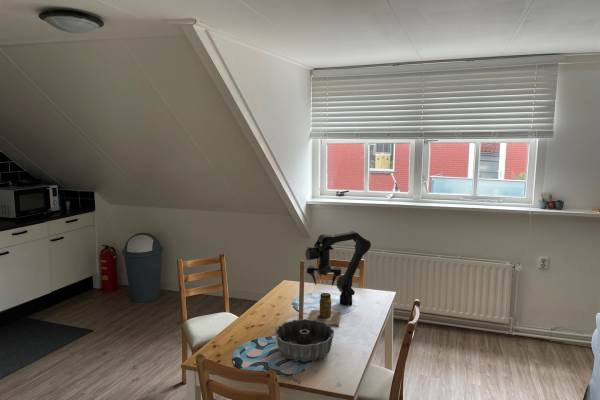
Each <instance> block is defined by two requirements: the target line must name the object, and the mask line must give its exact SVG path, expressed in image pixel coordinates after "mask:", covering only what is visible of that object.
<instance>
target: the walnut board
mask: <svg viewBox="0 0 600 400" xmlns="http://www.w3.org/2000/svg"><path fill="white" fill-rule="evenodd" d="M319 313H320V309H311V310H310V313H309V316H308V318H307V319H308V320H316V321H320V322H324V323H326V324H327V325H329V326H332V328H333V327H335V328H339V325H340V321H341V316H342V312H341V311H333V310H331V314H333V315H332V317H331V320H330V321H327V320H320V319H316V318H317V316H318V315H319Z"/></svg>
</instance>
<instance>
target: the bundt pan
mask: <svg viewBox="0 0 600 400" xmlns="http://www.w3.org/2000/svg"><path fill="white" fill-rule="evenodd" d="M274 335H275V339H276V343H277V347H278V351H279V353H280V354H281V355H283V356H284V357H285V358H287V359H289V360H293V361H295V362H298V361H300V362H308V361H311V362H315V361H317V360H320V359H322V358H324V357H325V355H326V356H327V355H328V354H329V353H330V351H331V348H332V343H333V338H334V335H335V330H334V328H333V326H329V325H327V324H326V323H324V322H320V321H316V320H308V318H307V319H306V318H304V319H303V318H301V319H292V320H291V321H285V322H283V323H281V325H279V326H278V325H277V327H276V329H275V330H274Z"/></svg>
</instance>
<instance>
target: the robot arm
mask: <svg viewBox="0 0 600 400" xmlns="http://www.w3.org/2000/svg"><path fill="white" fill-rule="evenodd" d="M351 240H352V241H353V242H354V243H355V246H354V253H353V256H352V258H351V260H350V262H349V264H348V266H347V269H346V270H345V273H344V274H343V275H342V273H343V271H342V270H343V269H342V267H340V266H334V268H332V266H331V265H330V264H331V263H330V262H331V261H330V259H331V258H330V256H331V255H330V253H331V252H330V251H332V250H334V247H332V246H334V244H337V243H342V242H347V241H351ZM371 245H372V243H371V241H370V240H368V239H366V238H364V237H363V236H362V235H360V234H359V233H358V232H356V231H354V230H353V231H352V230H351V231H347V232H342V233H337V234H336V233H335V234H328V233H326V234H323V233H322V234H320V235H319V236H318V238H317V240H316V242H315V243H314V245H313V246H307V249H306V250H305V258H306V260H307V261H312V260H317V259H318V263H319V264H318V267H316V266H315V265H308V266H307V268H306V274H309V275H310V276H311V277H312V279H313V282H314V284H315V286H316V285H317V272H318V275H319V276H321V275H323V276H327V275H328V274H329V273H333V275H332V281H331V286H332V287H334V284H335V280H336V278H337V277H338V279H337V281H336V288H337V289H338V290H339V292H341V293H340V295H339V303H340V306H347V307H349V306H351V307H352V306H353V296H355V294H356V291H355V290H354V289H353V288H352V286H353V278H354V275H355V274H356V272H357V269H358V266H359V265H360V263H361V261H362V258H363V256H364V255H365V254H367V253H368V252H369V250H370V248H371Z"/></svg>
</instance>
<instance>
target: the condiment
mask: <svg viewBox="0 0 600 400" xmlns="http://www.w3.org/2000/svg"><path fill="white" fill-rule="evenodd" d="M331 298H332V297H331V294H330V293H329V292H323V293H320V297H319V310H320V313H319V315H318V316H317V318H316V319H320V320H327V321H330V320H331V317H332V315H333V314H331V311H332V299H331Z"/></svg>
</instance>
